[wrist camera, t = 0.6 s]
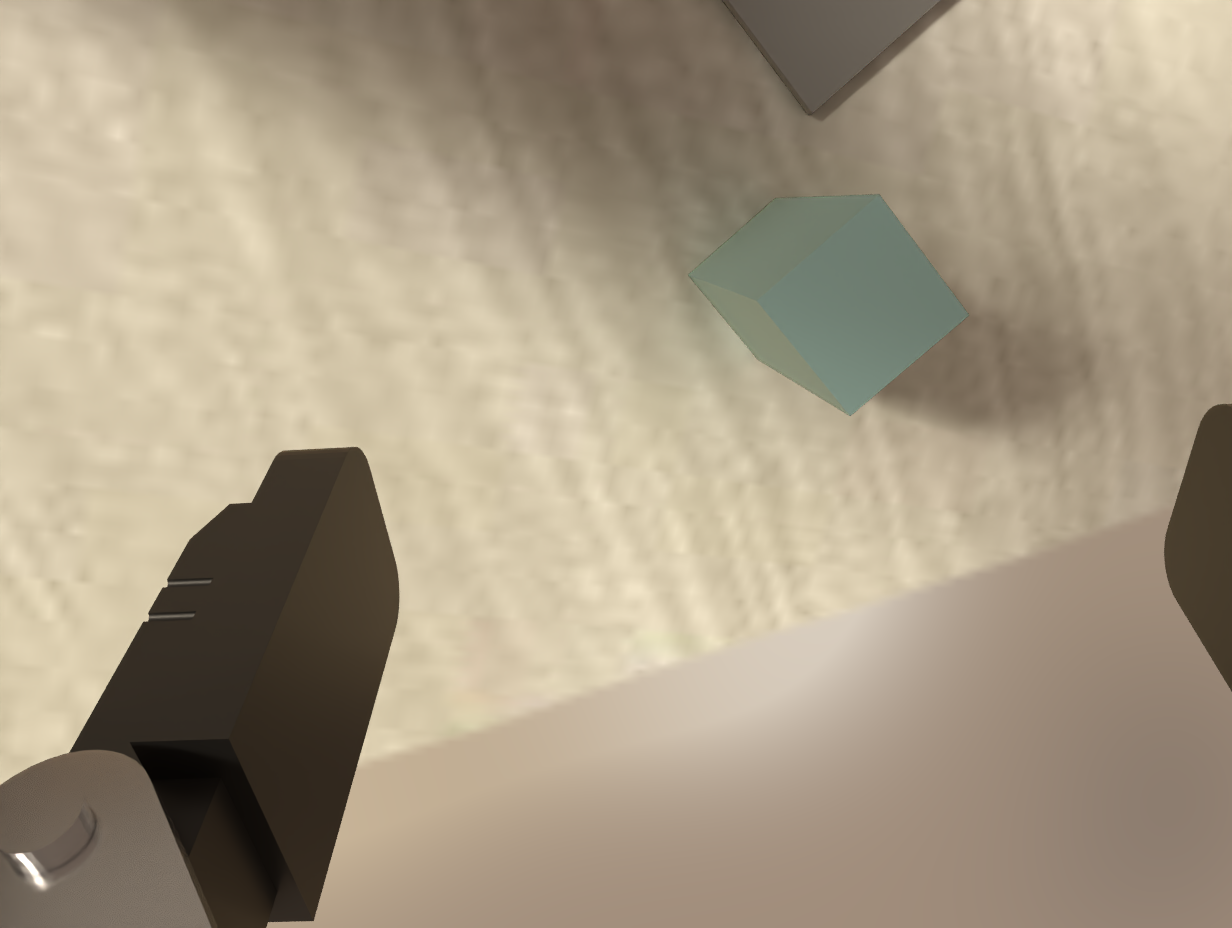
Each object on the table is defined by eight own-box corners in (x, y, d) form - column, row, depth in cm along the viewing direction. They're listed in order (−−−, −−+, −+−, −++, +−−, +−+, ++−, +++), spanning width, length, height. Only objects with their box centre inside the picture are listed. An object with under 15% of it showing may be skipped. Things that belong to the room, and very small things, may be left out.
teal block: (687, 274, 31) (756, 301, 22) (775, 198, 31) (879, 194, 22) (757, 359, 32) (850, 415, 23) (843, 285, 32) (969, 315, 23)
